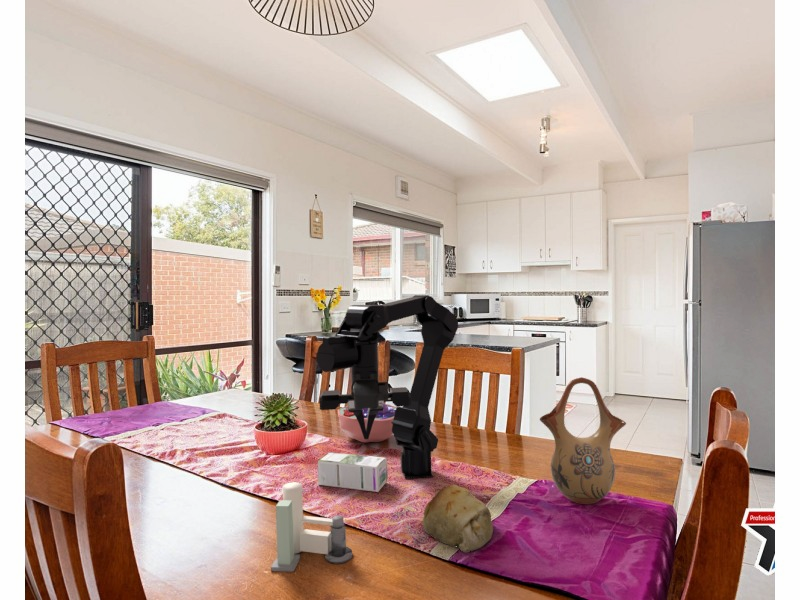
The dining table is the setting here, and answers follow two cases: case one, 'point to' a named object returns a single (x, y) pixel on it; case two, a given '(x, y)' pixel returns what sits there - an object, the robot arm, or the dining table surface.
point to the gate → (305, 537)
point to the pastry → (458, 519)
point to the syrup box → (352, 471)
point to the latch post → (285, 538)
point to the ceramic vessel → (582, 452)
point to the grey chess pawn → (338, 547)
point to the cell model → (379, 428)
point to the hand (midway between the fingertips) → (366, 438)
